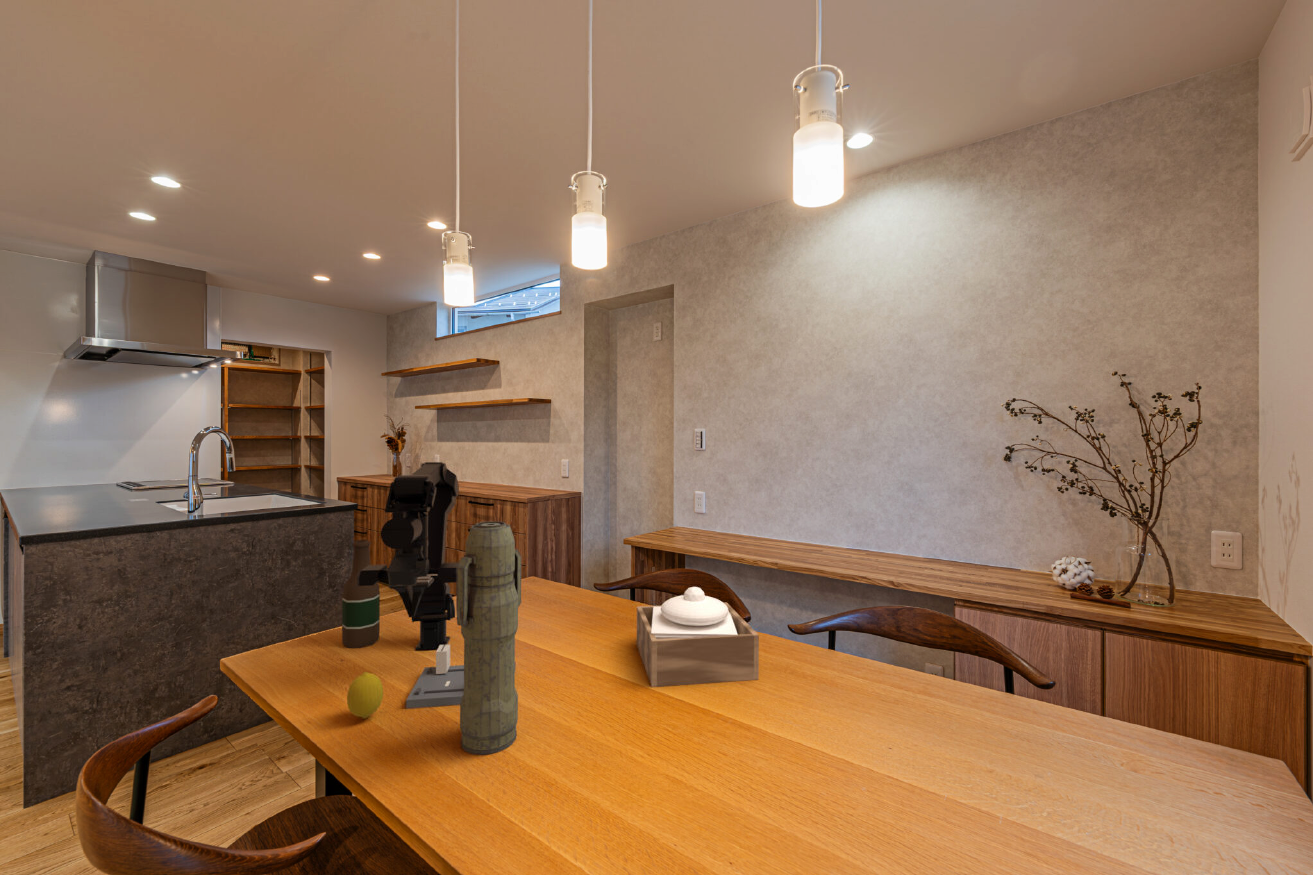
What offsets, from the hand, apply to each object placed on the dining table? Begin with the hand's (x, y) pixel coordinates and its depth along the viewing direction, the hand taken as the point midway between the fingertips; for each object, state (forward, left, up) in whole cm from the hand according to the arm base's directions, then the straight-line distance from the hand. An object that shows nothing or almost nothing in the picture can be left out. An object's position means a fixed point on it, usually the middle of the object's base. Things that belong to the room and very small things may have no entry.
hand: (411, 616), depth 110 cm
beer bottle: (-23, -17, -13) cm, 31 cm away
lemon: (+14, -4, -13) cm, 20 cm away
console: (+5, +11, -13) cm, 17 cm away
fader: (0, +6, -11) cm, 13 cm away
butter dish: (-1, +58, -13) cm, 59 cm away
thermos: (+24, +18, -13) cm, 33 cm away
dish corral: (-1, +58, -13) cm, 59 cm away
